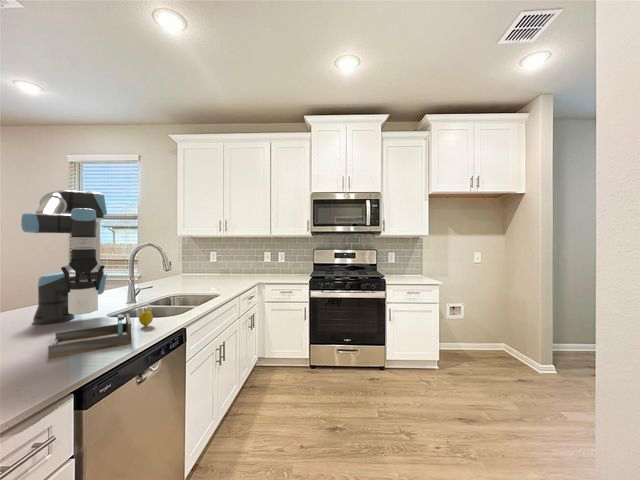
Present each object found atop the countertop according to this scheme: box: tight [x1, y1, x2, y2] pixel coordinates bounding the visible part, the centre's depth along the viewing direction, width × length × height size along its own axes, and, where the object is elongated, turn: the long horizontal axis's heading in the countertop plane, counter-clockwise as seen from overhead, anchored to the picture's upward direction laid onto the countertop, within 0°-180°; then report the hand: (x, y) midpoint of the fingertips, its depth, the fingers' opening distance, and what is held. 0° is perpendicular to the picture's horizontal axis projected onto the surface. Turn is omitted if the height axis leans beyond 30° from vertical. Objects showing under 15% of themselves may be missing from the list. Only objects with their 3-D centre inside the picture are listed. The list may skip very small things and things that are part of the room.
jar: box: [68, 279, 99, 316], centre depth 113 cm, size 9×8×12 cm
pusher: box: [117, 314, 125, 335], centre depth 120 cm, size 15×2×8 cm, turn 36°
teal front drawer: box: [47, 313, 132, 359], centre depth 115 cm, size 18×24×8 cm
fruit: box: [138, 309, 154, 328], centre depth 136 cm, size 6×6×8 cm
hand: (83, 309), depth 113 cm, fingers open, 2 cm apart
